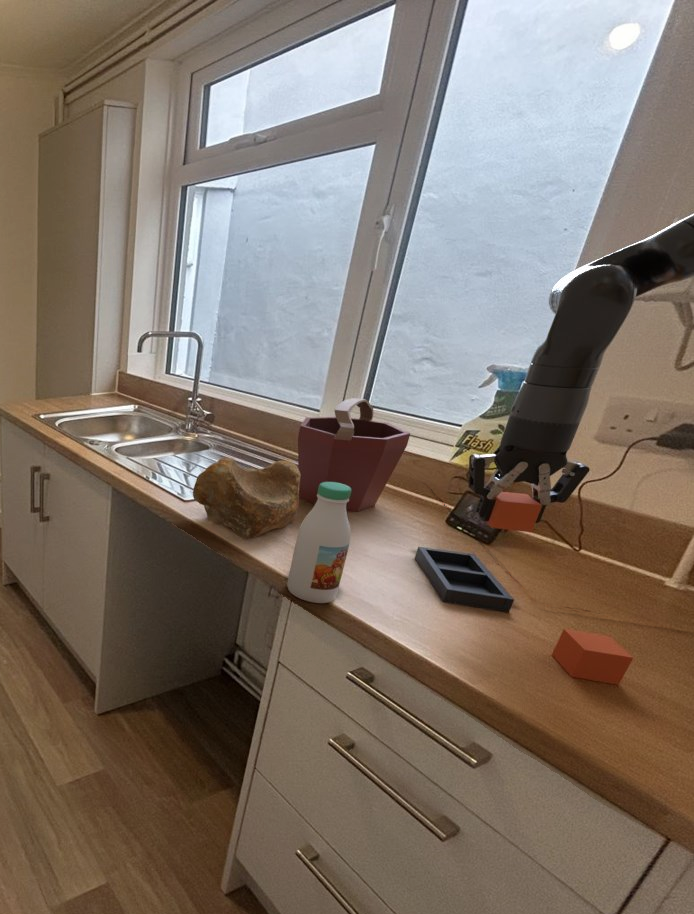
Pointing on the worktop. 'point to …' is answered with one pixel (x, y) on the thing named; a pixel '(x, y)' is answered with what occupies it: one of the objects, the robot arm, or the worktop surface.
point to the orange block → (592, 656)
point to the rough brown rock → (249, 496)
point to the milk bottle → (321, 546)
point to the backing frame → (463, 579)
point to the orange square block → (514, 512)
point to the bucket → (349, 453)
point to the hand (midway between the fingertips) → (505, 521)
